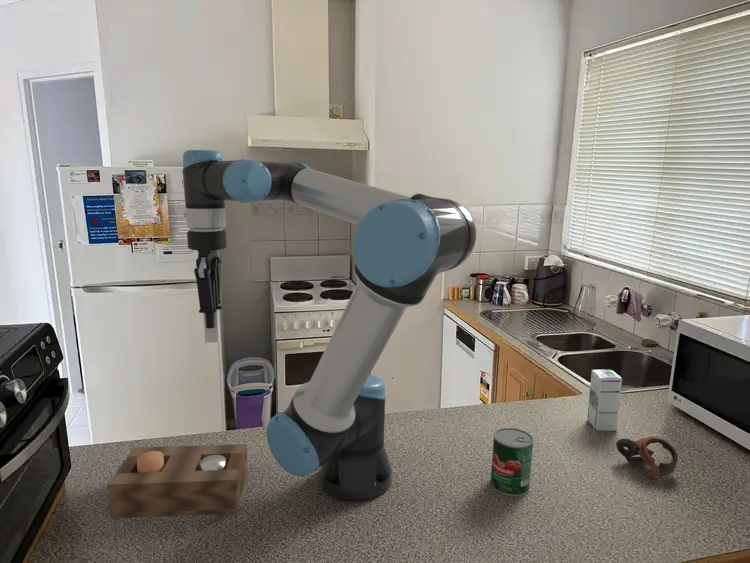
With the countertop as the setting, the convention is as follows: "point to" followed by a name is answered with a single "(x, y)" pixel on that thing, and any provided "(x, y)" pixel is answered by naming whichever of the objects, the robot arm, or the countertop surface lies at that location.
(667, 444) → the brown double ring
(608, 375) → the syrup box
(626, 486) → the countertop surface
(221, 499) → the brown wooden block
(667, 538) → the countertop surface
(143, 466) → the tan rounded piece
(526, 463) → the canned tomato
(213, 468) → the grey rounded piece
